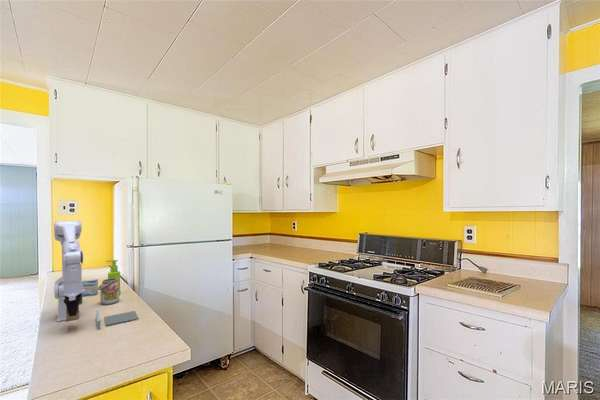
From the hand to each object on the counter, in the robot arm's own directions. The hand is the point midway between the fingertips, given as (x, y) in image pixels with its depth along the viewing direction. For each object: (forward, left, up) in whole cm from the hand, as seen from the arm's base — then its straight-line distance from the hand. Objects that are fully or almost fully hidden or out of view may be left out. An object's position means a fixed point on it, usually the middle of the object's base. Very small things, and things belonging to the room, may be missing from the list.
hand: (72, 314), depth 119 cm
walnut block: (0, 0, -2) cm, 2 cm away
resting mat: (0, +17, -6) cm, 18 cm away
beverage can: (-31, +14, -6) cm, 35 cm away
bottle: (-40, 0, -6) cm, 40 cm away
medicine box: (-56, +6, -6) cm, 57 cm away
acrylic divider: (0, +9, -6) cm, 10 cm away
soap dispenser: (-46, +17, -6) cm, 49 cm away
